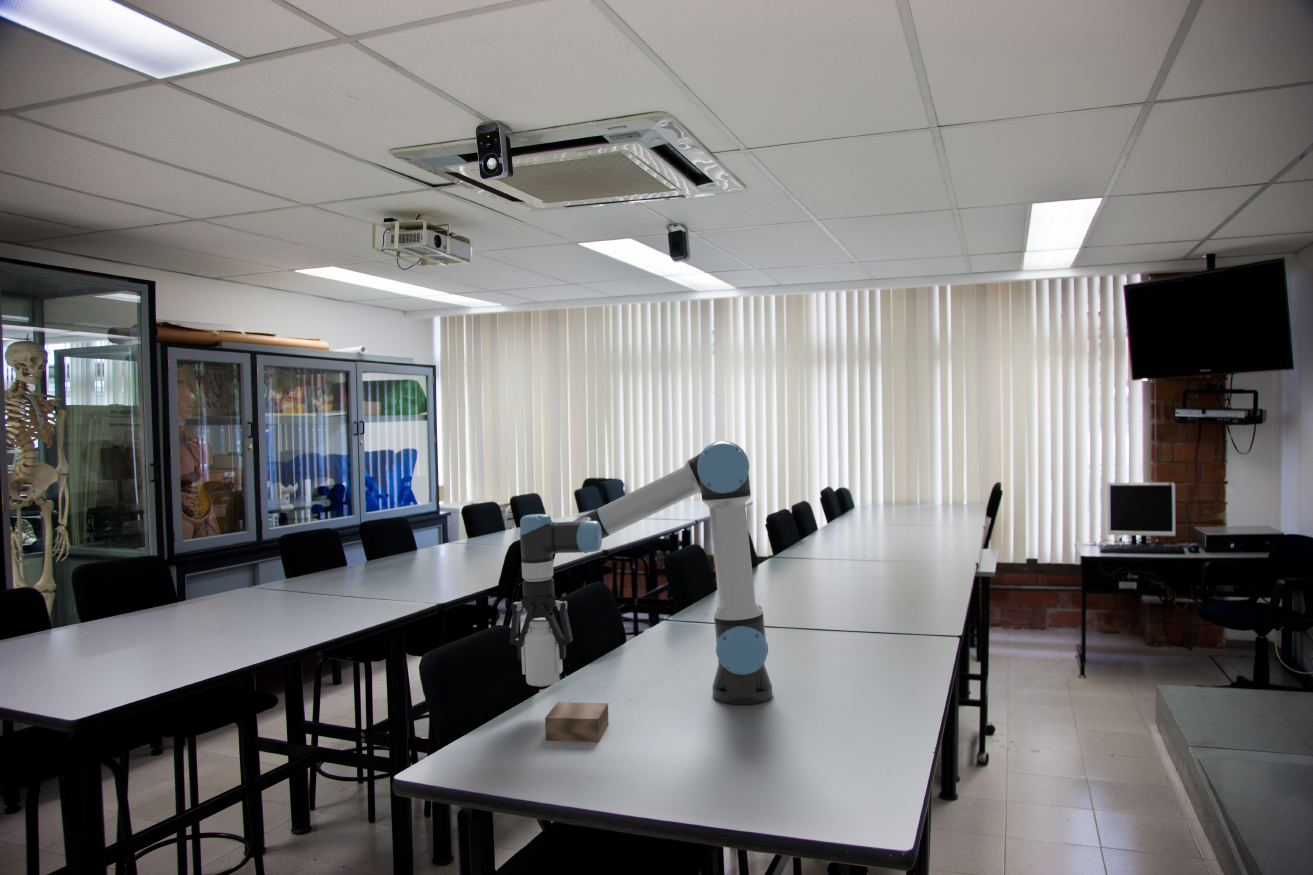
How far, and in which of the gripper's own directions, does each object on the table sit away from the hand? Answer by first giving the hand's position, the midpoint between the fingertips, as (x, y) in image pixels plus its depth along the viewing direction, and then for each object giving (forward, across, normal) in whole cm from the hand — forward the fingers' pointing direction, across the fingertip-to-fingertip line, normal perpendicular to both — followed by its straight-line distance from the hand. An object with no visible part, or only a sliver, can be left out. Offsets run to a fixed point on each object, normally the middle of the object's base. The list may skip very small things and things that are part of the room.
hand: (542, 672), depth 184 cm
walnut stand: (+10, -11, +10) cm, 18 cm away
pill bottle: (+3, 0, 0) cm, 3 cm away
